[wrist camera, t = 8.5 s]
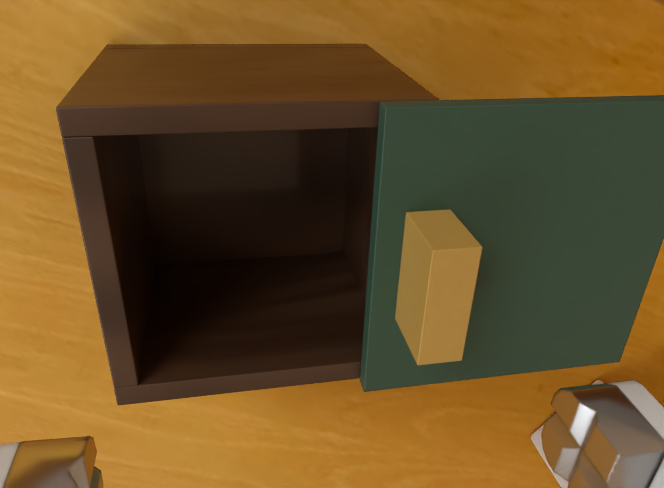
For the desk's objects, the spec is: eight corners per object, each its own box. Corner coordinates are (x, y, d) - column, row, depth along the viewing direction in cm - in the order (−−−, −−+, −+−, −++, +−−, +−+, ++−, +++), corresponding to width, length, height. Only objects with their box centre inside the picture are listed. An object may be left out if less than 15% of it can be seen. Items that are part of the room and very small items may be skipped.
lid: (379, 101, 20) (412, 135, 17) (698, 94, 22) (782, 123, 19) (359, 380, 26) (381, 444, 23) (610, 352, 29) (661, 406, 25)
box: (106, 44, 28) (55, 107, 18) (366, 43, 30) (439, 99, 21) (141, 271, 34) (117, 405, 25) (354, 256, 36) (406, 373, 27)
